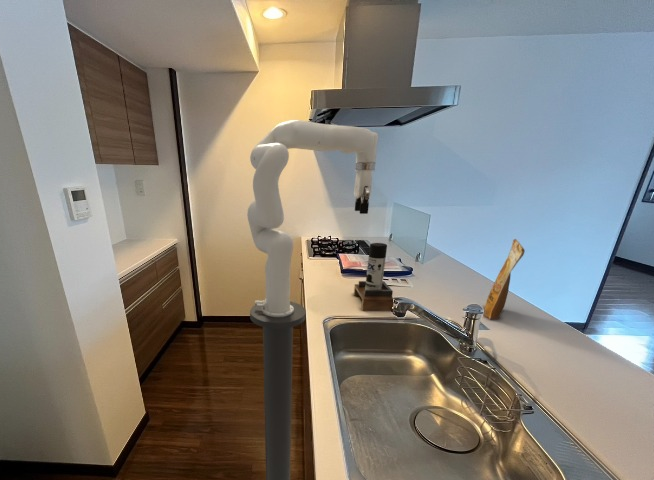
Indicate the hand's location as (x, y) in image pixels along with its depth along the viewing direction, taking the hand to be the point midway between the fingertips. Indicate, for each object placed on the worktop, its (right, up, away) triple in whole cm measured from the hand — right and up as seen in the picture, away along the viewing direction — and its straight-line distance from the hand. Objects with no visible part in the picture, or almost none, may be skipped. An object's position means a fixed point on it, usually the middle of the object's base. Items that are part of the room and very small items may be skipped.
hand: (360, 212), depth 132 cm
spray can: (+6, -33, +2) cm, 34 cm away
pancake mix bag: (+50, -42, -7) cm, 66 cm away
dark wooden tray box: (+6, -37, +4) cm, 38 cm away
